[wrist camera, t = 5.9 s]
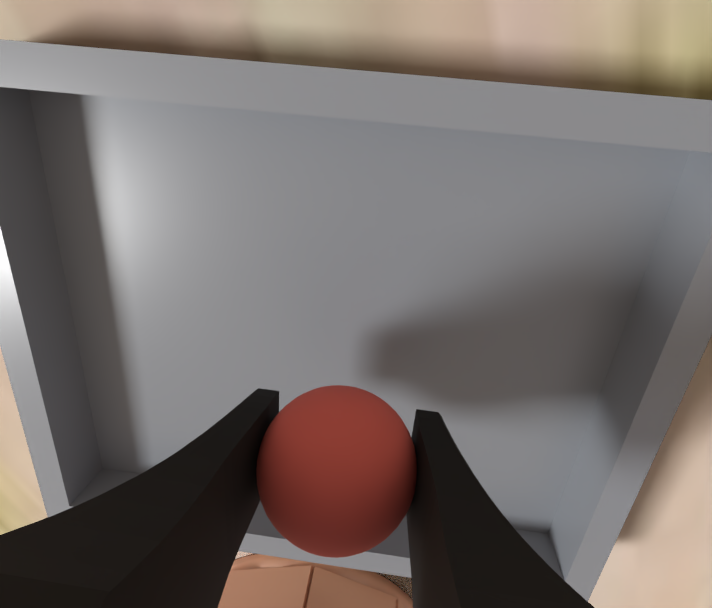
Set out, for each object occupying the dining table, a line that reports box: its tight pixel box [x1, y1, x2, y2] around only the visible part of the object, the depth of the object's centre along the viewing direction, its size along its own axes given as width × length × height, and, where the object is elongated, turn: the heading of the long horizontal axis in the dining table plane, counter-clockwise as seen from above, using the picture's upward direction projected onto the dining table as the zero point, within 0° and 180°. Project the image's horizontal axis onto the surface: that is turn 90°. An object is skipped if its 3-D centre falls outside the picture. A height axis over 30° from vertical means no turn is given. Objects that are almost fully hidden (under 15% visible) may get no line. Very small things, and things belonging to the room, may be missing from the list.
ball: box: [256, 385, 417, 558], centre depth 11 cm, size 4×4×4 cm
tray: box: [0, 40, 712, 602], centre depth 14 cm, size 20×16×2 cm
